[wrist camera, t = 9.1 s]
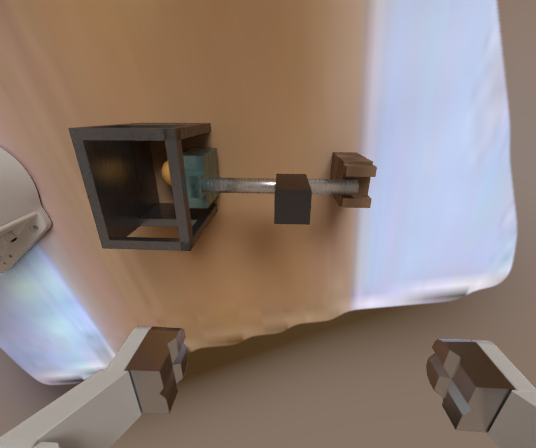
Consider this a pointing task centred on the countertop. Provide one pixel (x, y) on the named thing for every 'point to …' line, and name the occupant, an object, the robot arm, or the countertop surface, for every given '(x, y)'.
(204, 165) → the rod
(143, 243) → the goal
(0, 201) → the robot arm
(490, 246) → the countertop surface
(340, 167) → the rod cradle
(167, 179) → the ball
